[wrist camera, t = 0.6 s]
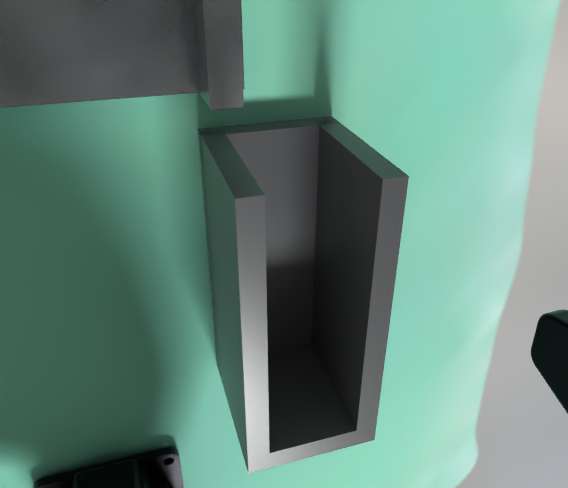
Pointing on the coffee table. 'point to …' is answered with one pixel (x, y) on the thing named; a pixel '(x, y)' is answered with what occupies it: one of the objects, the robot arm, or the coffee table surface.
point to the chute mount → (120, 50)
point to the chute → (300, 281)
